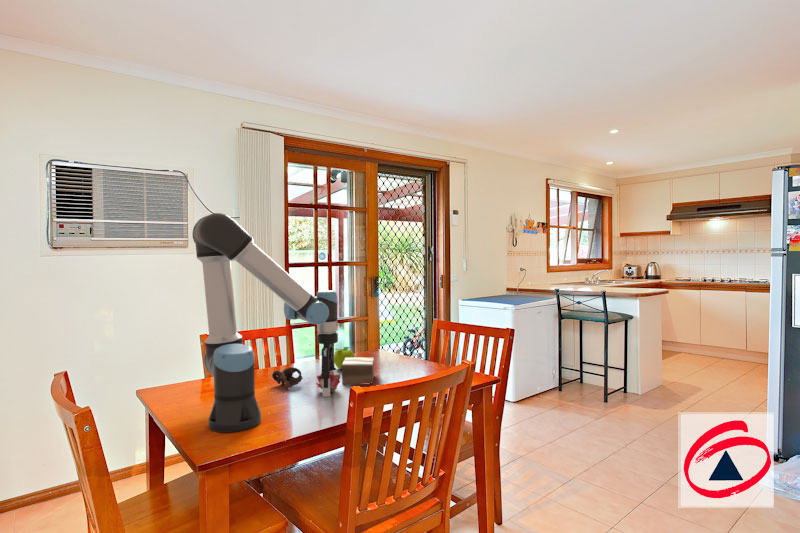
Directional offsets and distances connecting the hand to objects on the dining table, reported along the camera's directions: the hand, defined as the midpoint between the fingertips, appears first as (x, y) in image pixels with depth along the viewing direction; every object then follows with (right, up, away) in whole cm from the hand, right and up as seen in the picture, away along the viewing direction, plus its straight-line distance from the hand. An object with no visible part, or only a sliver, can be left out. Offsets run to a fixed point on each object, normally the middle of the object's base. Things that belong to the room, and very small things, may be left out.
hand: (328, 391), depth 170 cm
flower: (0, 0, 0) cm, 0 cm away
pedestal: (+10, 0, +16) cm, 19 cm away
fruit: (+2, +1, +34) cm, 34 cm away
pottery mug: (-18, 0, +9) cm, 20 cm away
